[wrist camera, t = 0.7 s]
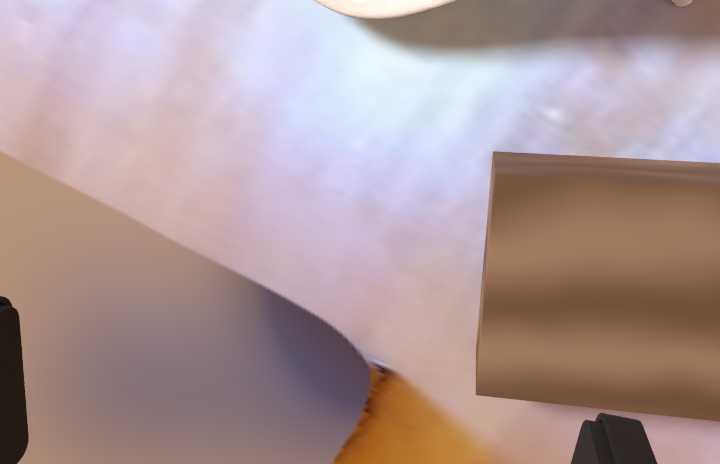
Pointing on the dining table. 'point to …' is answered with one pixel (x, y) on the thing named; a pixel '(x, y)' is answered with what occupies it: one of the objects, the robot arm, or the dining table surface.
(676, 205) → the walnut block
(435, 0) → the spoon rest
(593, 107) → the dining table surface
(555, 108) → the dining table surface
